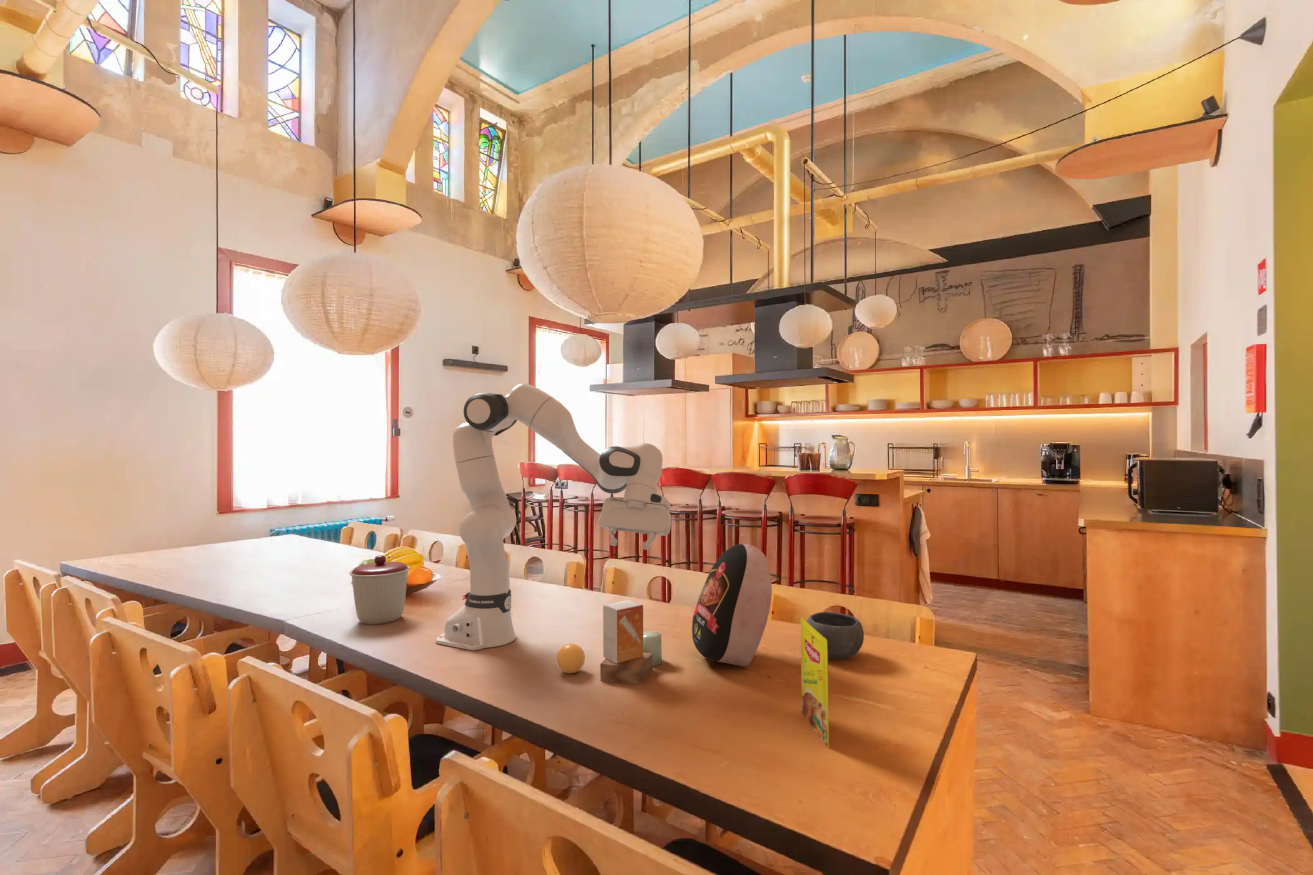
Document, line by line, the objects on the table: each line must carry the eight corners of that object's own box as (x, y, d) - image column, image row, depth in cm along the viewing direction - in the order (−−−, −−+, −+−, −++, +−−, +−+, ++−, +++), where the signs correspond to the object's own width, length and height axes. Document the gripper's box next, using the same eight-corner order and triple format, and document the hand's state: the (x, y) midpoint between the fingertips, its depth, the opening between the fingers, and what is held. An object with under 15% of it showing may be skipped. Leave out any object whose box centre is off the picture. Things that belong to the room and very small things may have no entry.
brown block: (600, 680, 145) (600, 663, 145) (614, 665, 155) (614, 649, 155) (640, 684, 142) (640, 667, 142) (652, 669, 152) (652, 653, 152)
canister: (396, 609, 210) (396, 548, 210) (420, 619, 198) (419, 554, 198) (341, 620, 197) (340, 555, 197) (362, 632, 185) (361, 563, 185)
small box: (617, 664, 144) (616, 609, 145) (602, 657, 150) (602, 604, 150) (644, 656, 150) (643, 604, 150) (629, 650, 154) (628, 599, 155)
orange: (551, 676, 148) (551, 647, 148) (564, 665, 155) (563, 638, 155) (578, 679, 146) (578, 649, 146) (589, 668, 153) (589, 640, 153)
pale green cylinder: (635, 664, 155) (635, 637, 155) (642, 656, 161) (642, 630, 161) (658, 666, 154) (657, 638, 154) (664, 658, 159) (663, 631, 160)
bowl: (867, 650, 164) (866, 613, 164) (860, 670, 150) (860, 629, 150) (811, 643, 170) (810, 608, 170) (800, 661, 156) (799, 622, 156)
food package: (799, 711, 127) (798, 616, 128) (804, 711, 127) (803, 616, 128) (825, 748, 112) (824, 640, 112) (831, 747, 112) (830, 639, 112)
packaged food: (683, 648, 167) (681, 539, 167) (749, 642, 172) (748, 536, 172) (709, 678, 146) (708, 553, 146) (784, 670, 150) (782, 549, 151)
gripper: (601, 491, 170) (589, 539, 164) (671, 498, 163) (661, 547, 157) (609, 500, 175) (597, 546, 169) (676, 506, 168) (667, 554, 163)
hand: (628, 547), depth 163 cm, fingers open, 8 cm apart
